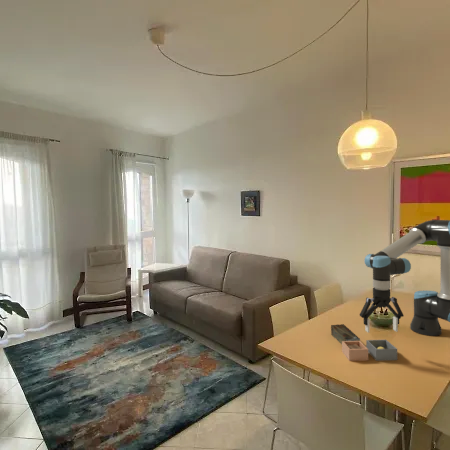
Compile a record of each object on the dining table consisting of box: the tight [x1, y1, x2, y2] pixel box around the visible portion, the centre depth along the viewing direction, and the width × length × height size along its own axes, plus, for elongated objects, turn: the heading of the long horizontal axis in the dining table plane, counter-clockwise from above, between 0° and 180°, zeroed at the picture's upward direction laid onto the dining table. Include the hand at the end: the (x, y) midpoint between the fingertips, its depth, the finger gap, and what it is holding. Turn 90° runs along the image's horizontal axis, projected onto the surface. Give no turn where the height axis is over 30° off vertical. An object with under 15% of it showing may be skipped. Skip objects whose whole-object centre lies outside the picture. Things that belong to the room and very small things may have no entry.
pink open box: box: [341, 340, 369, 362], centre depth 148 cm, size 9×9×6 cm
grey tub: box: [365, 339, 398, 362], centre depth 148 cm, size 10×10×6 cm
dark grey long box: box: [330, 323, 361, 345], centre depth 165 cm, size 8×19×7 cm, turn 4°
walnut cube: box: [348, 344, 362, 349], centre depth 148 cm, size 4×4×4 cm
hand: (381, 331), depth 147 cm, fingers open, 13 cm apart
